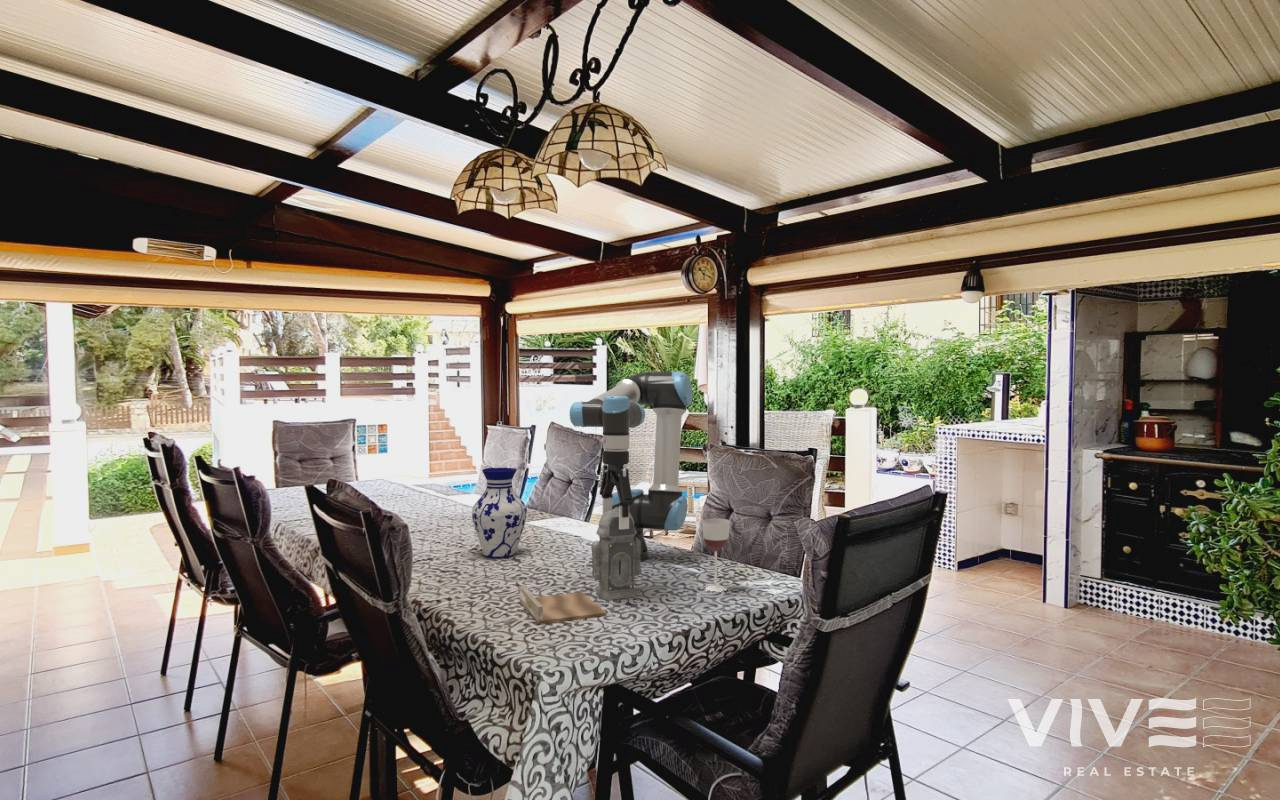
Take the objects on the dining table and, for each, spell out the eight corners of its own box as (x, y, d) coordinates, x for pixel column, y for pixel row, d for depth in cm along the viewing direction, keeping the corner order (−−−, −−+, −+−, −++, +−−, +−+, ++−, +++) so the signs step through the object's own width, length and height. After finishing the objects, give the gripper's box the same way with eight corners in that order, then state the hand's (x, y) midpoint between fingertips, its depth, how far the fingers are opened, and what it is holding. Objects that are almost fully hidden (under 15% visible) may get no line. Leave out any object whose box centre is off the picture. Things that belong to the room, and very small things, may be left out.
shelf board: (582, 594, 205) (582, 579, 205) (606, 615, 187) (606, 599, 187) (519, 602, 198) (519, 586, 198) (537, 624, 180) (537, 607, 180)
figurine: (645, 596, 204) (645, 508, 204) (598, 601, 199) (598, 511, 198) (631, 587, 213) (632, 502, 213) (586, 592, 207) (586, 506, 207)
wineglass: (732, 586, 214) (732, 519, 214) (725, 594, 206) (726, 524, 206) (705, 583, 217) (706, 517, 216) (698, 591, 209) (698, 522, 208)
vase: (480, 563, 240) (479, 474, 240) (465, 552, 257) (465, 468, 257) (534, 557, 249) (534, 471, 249) (517, 546, 266) (517, 465, 265)
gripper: (589, 447, 215) (588, 518, 215) (619, 453, 192) (618, 533, 192) (612, 446, 218) (612, 516, 218) (645, 453, 195) (644, 531, 195)
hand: (615, 524), depth 205 cm, fingers open, 13 cm apart
